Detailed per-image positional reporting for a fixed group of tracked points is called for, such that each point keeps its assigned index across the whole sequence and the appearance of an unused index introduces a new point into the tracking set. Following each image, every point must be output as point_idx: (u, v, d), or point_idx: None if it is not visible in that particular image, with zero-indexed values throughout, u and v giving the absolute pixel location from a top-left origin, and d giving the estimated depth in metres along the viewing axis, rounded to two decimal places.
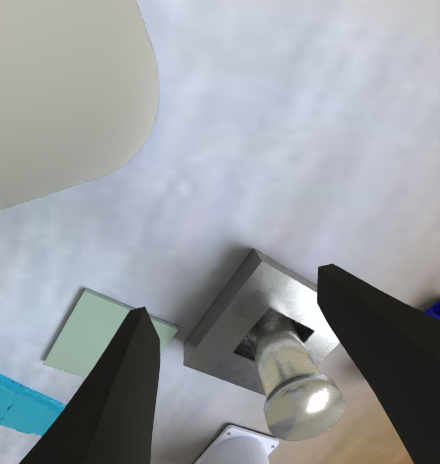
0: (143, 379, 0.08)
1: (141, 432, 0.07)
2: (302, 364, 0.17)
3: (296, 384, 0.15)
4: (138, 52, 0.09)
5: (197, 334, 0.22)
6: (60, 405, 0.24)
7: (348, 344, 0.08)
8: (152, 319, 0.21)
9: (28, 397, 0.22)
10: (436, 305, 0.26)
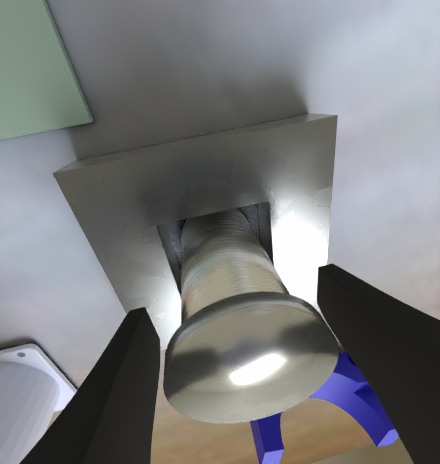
0: (143, 379, 0.08)
1: (141, 432, 0.07)
2: None
3: (301, 309, 0.06)
4: None
5: (121, 154, 0.11)
6: None
7: (348, 344, 0.08)
8: (60, 49, 0.09)
9: None
10: None
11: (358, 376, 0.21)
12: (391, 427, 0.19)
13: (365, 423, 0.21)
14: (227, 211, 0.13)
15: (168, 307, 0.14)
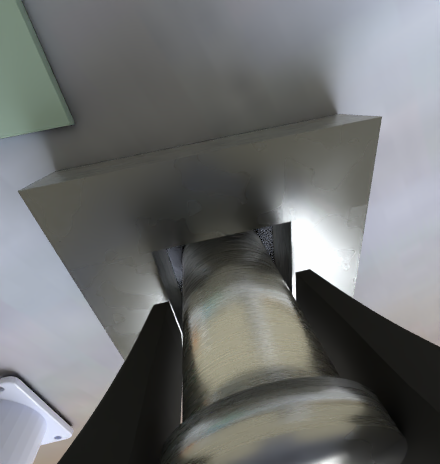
0: (171, 372, 0.08)
1: (172, 424, 0.07)
2: (328, 358, 0.06)
3: (362, 407, 0.04)
4: None
5: (108, 165, 0.09)
6: None
7: None
8: (27, 30, 0.07)
9: None
10: None
11: None
12: None
13: None
14: None
15: None
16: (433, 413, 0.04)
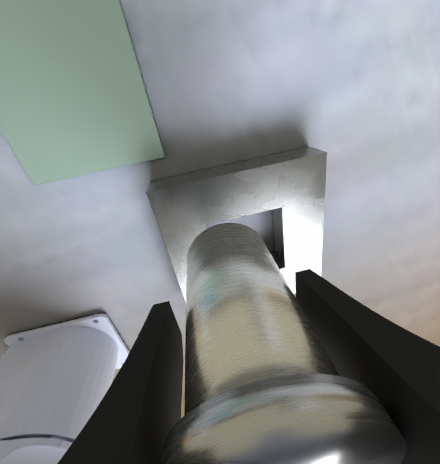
0: (171, 372, 0.08)
1: (172, 424, 0.07)
2: (329, 358, 0.06)
3: (359, 404, 0.04)
4: None
5: (184, 178, 0.16)
6: None
7: None
8: (151, 114, 0.15)
9: None
10: None
11: None
12: None
13: None
14: (240, 232, 0.11)
15: None
16: (433, 413, 0.04)
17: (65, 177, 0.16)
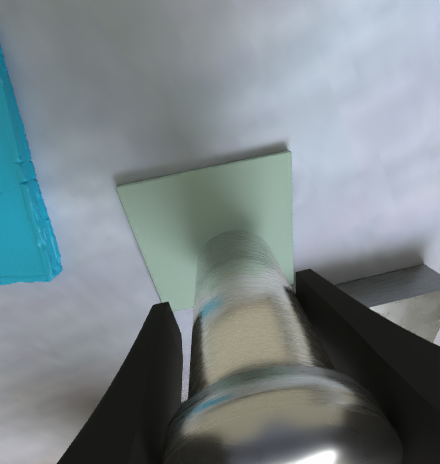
0: (171, 372, 0.08)
1: None
2: (327, 357, 0.07)
3: (347, 395, 0.05)
4: None
5: None
6: (56, 255, 0.13)
7: None
8: (292, 252, 0.15)
9: (34, 207, 0.11)
10: None
11: None
12: None
13: None
14: (246, 239, 0.11)
15: None
16: (433, 413, 0.04)
17: None
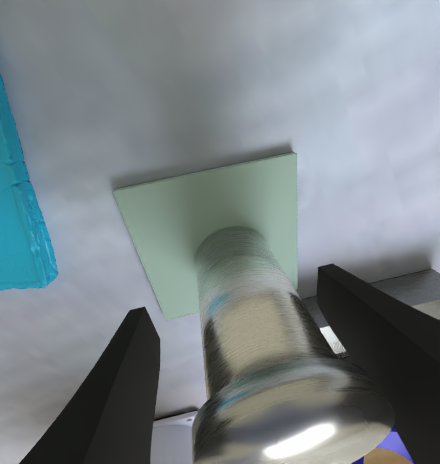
0: (143, 379, 0.08)
1: (141, 432, 0.07)
2: (329, 345, 0.07)
3: (354, 381, 0.05)
4: None
5: (316, 310, 0.16)
6: (51, 260, 0.12)
7: (348, 344, 0.08)
8: (296, 257, 0.14)
9: (26, 210, 0.11)
10: None
11: None
12: None
13: None
14: (245, 235, 0.12)
15: None
16: None
17: (198, 311, 0.15)
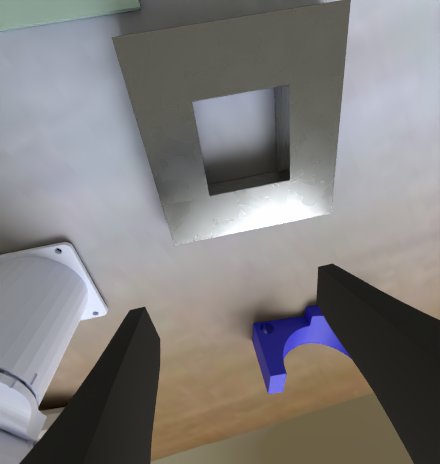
0: (143, 379, 0.08)
1: (141, 432, 0.07)
2: None
3: None
4: None
5: None
6: None
7: (348, 344, 0.08)
8: None
9: None
10: None
11: None
12: None
13: None
14: None
15: (196, 194, 0.15)
16: None
17: (7, 25, 0.12)
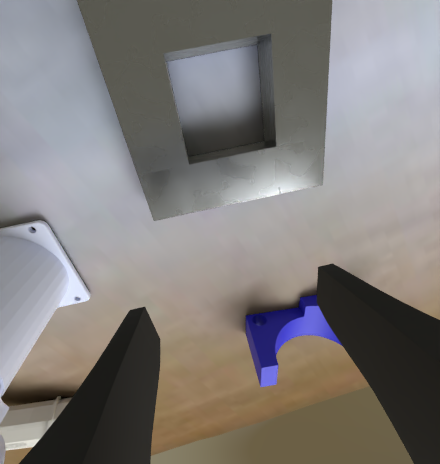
0: (143, 379, 0.08)
1: (141, 432, 0.07)
2: None
3: None
4: None
5: None
6: None
7: (348, 344, 0.08)
8: None
9: None
10: None
11: None
12: None
13: None
14: None
15: (174, 162, 0.14)
16: None
17: None
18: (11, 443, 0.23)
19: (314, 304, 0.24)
